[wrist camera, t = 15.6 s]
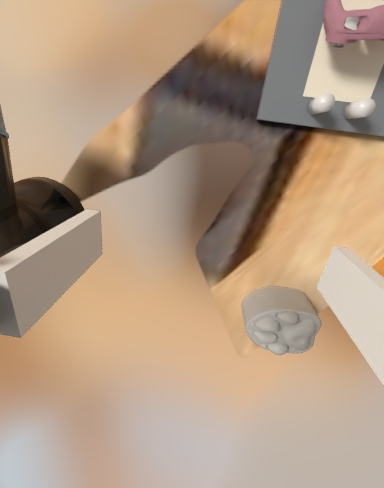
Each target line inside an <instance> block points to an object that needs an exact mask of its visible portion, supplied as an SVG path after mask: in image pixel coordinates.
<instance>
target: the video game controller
mask: <svg viewBox="0 0 384 488" xmlns="http://www.w3.org/2000/svg"><path fill="white" fill-rule="evenodd" d="M323 24H324V30H325V33H326V39H325V40H326V41H327V42H330V43H334V44H336V45H334V46H333V48H334V49H336V50H340V49H342V48H344V46H343V45H344V44H347V43H354V42H356V41H357V40H382V41H384V5H380V6H376V7H374V8H371V9H360V10H350V11H346V10H344V8H343V6H342V2H341V0H327V1H326V4H325V8H324V16H323Z"/></svg>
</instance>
